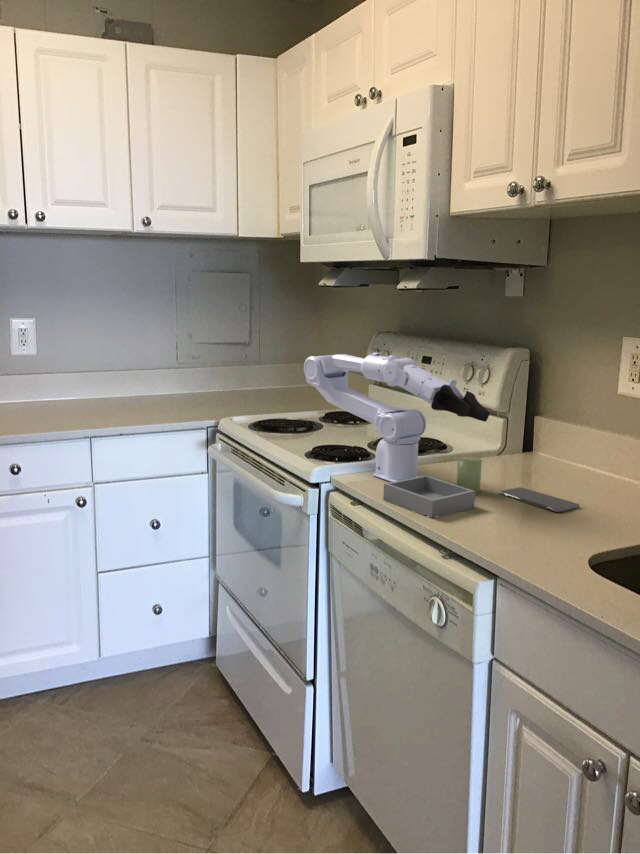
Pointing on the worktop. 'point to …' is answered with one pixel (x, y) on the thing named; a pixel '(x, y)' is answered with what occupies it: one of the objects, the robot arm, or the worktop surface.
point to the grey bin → (429, 496)
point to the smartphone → (540, 500)
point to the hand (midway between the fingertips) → (477, 414)
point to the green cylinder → (469, 473)
